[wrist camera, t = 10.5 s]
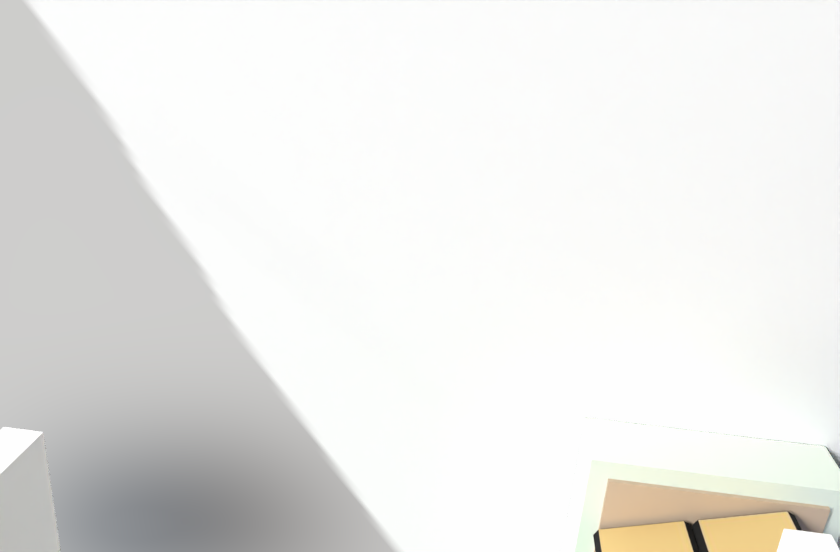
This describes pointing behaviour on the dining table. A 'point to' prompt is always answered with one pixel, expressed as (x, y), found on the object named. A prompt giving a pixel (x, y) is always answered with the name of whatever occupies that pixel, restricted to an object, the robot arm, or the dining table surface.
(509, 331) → the dining table surface
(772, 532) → the puzzle cube
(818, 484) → the plinth
